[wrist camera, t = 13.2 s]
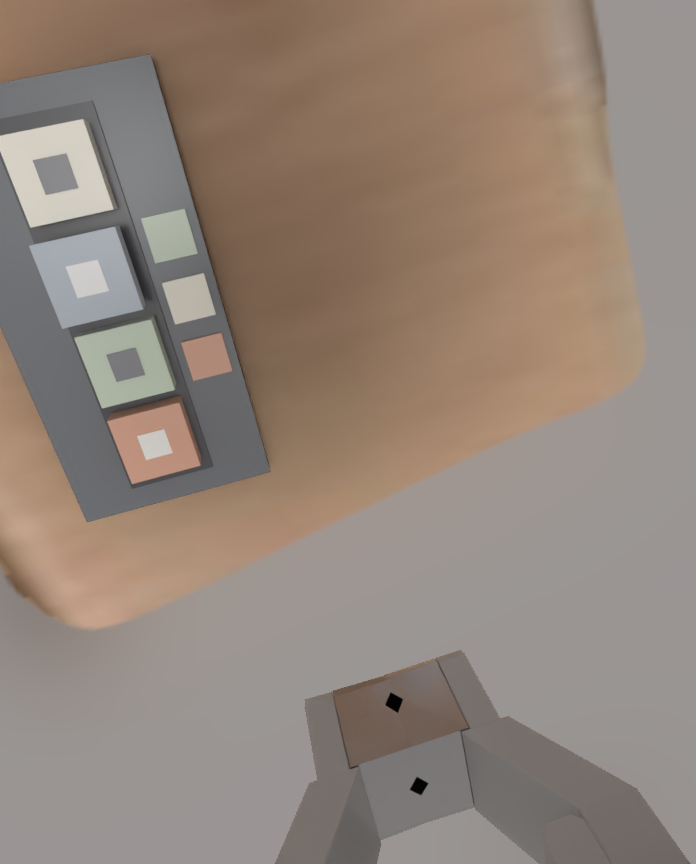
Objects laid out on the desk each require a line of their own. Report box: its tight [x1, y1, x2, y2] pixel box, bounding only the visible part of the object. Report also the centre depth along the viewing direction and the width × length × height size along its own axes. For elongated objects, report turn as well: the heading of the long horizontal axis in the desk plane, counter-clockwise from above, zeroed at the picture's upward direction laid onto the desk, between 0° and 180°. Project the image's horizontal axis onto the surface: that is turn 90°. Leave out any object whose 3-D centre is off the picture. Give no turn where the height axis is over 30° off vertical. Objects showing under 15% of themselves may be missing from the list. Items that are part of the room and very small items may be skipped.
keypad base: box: [0, 54, 270, 522], centre depth 34 cm, size 24×12×2 cm, turn 12°
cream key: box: [0, 119, 118, 228], centre depth 30 cm, size 4×4×2 cm
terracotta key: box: [107, 395, 201, 484], centre depth 36 cm, size 4×4×2 cm
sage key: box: [74, 315, 176, 408], centre depth 34 cm, size 4×4×2 cm
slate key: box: [29, 226, 146, 329], centre depth 31 cm, size 4×4×2 cm
